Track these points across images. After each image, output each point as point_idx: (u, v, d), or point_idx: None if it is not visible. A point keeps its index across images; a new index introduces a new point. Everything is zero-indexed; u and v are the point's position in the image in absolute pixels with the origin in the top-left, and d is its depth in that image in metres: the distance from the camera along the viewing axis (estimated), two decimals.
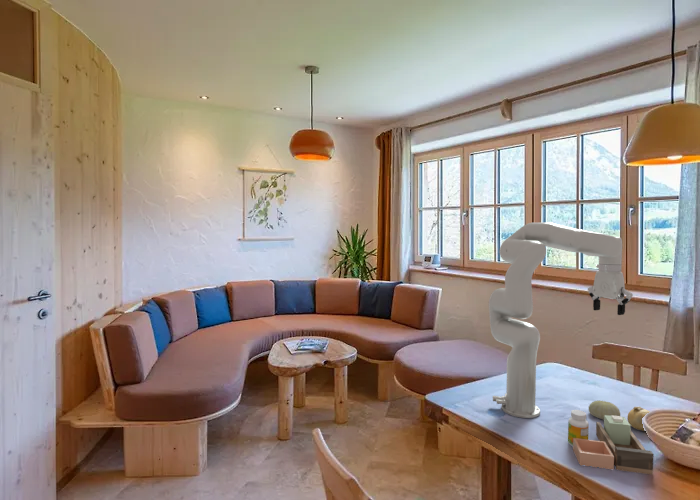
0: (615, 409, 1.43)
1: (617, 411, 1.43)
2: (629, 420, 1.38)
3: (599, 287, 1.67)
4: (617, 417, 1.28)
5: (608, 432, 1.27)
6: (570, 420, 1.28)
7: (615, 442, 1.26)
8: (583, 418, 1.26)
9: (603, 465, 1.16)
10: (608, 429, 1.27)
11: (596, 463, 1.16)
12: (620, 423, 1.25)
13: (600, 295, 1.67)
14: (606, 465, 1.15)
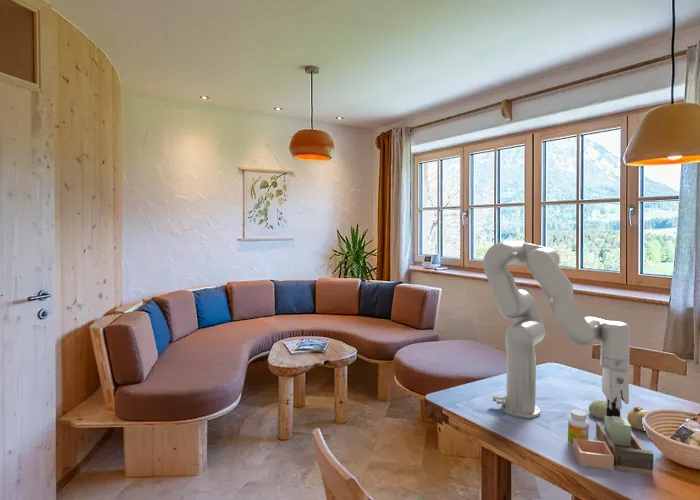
0: None
1: None
2: (629, 420, 1.38)
3: None
4: (618, 418, 1.27)
5: (609, 433, 1.26)
6: (570, 420, 1.28)
7: (616, 443, 1.25)
8: (583, 418, 1.26)
9: (603, 465, 1.16)
10: (609, 430, 1.26)
11: (596, 463, 1.16)
12: (621, 424, 1.25)
13: None
14: (606, 465, 1.15)
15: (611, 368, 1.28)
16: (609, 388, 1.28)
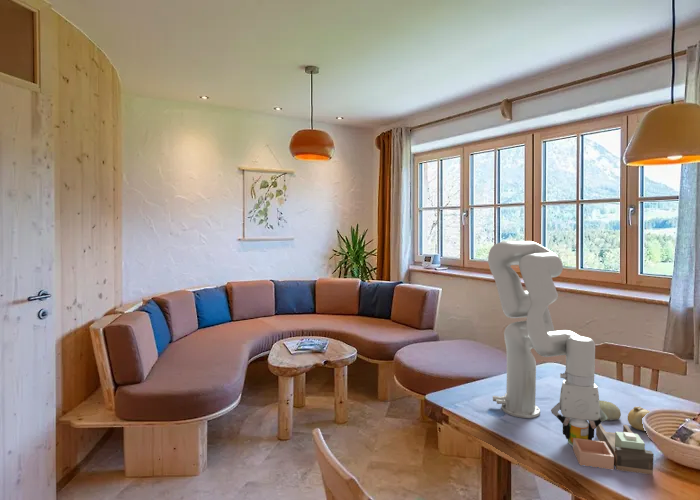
0: (615, 409, 1.43)
1: (617, 411, 1.43)
2: (629, 420, 1.38)
3: (573, 406, 1.25)
4: (630, 434, 1.17)
5: None
6: (570, 420, 1.28)
7: None
8: None
9: (603, 465, 1.16)
10: None
11: (596, 463, 1.16)
12: (634, 441, 1.15)
13: (575, 416, 1.25)
14: (606, 465, 1.15)
15: None
16: None
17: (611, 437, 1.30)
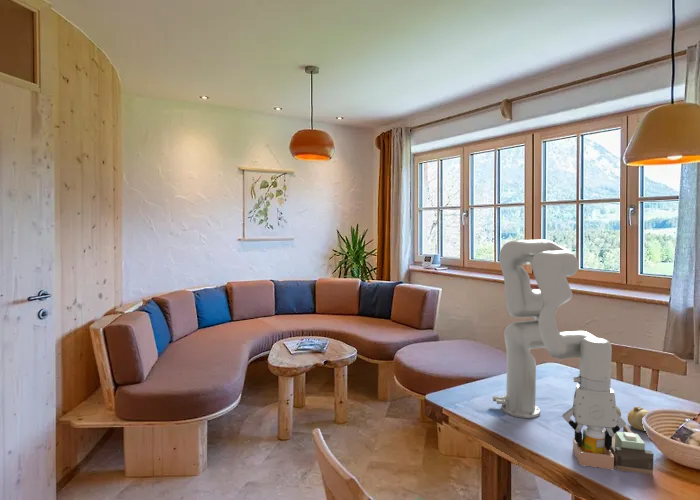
0: None
1: (617, 411, 1.43)
2: (629, 420, 1.38)
3: (588, 412, 1.17)
4: (630, 434, 1.17)
5: None
6: (585, 430, 1.20)
7: None
8: (600, 429, 1.18)
9: (603, 465, 1.16)
10: None
11: (596, 463, 1.16)
12: (634, 441, 1.15)
13: (589, 423, 1.17)
14: (606, 465, 1.15)
15: None
16: None
17: None
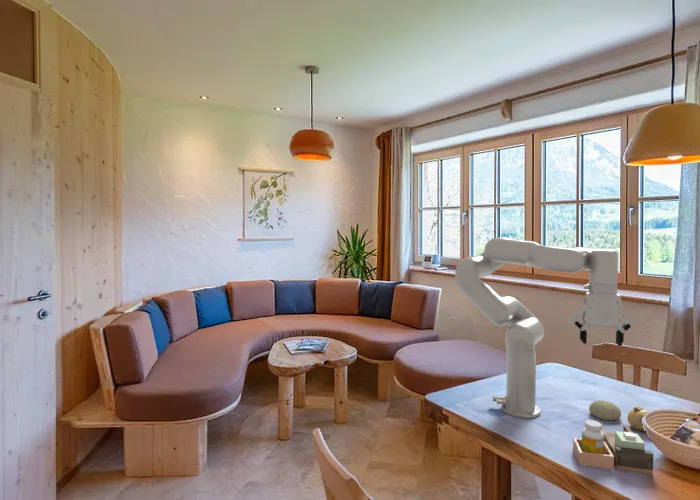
0: (616, 409, 1.43)
1: (618, 411, 1.43)
2: (629, 420, 1.38)
3: (597, 314, 1.31)
4: (629, 434, 1.17)
5: None
6: (584, 431, 1.20)
7: None
8: (598, 429, 1.18)
9: (603, 465, 1.16)
10: None
11: (596, 463, 1.16)
12: (633, 441, 1.15)
13: (598, 324, 1.31)
14: (606, 465, 1.15)
15: None
16: None
17: (611, 437, 1.30)
